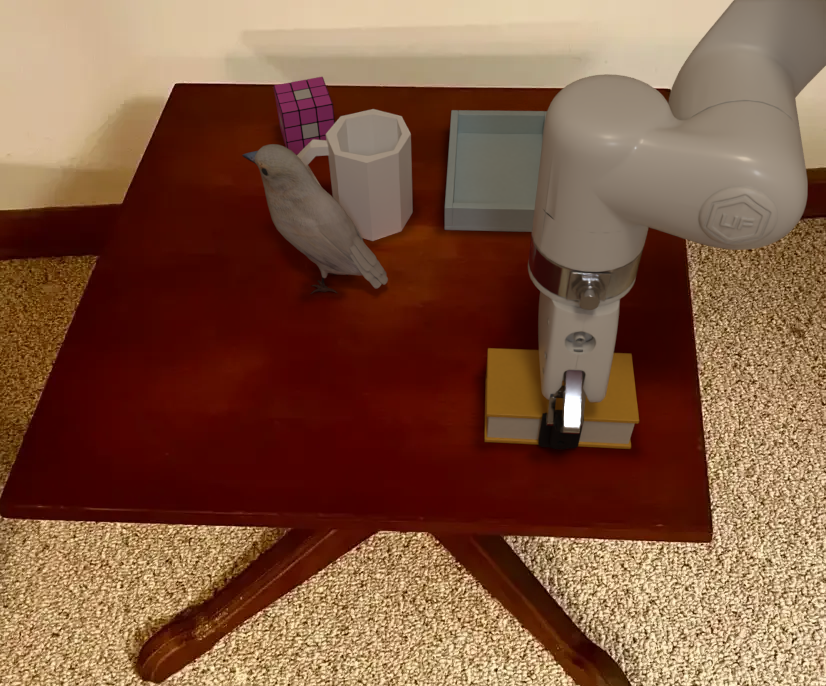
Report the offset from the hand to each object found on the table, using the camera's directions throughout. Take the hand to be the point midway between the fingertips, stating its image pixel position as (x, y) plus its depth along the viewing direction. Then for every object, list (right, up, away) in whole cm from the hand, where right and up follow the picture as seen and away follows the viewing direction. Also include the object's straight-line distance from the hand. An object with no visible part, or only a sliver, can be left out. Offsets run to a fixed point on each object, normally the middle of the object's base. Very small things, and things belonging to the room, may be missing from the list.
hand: (556, 405), depth 74 cm
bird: (-20, +12, +12) cm, 27 cm away
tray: (-2, +24, +20) cm, 31 cm away
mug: (-17, +20, +18) cm, 32 cm away
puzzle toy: (-23, +30, +27) cm, 47 cm away
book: (0, -1, +1) cm, 1 cm away
